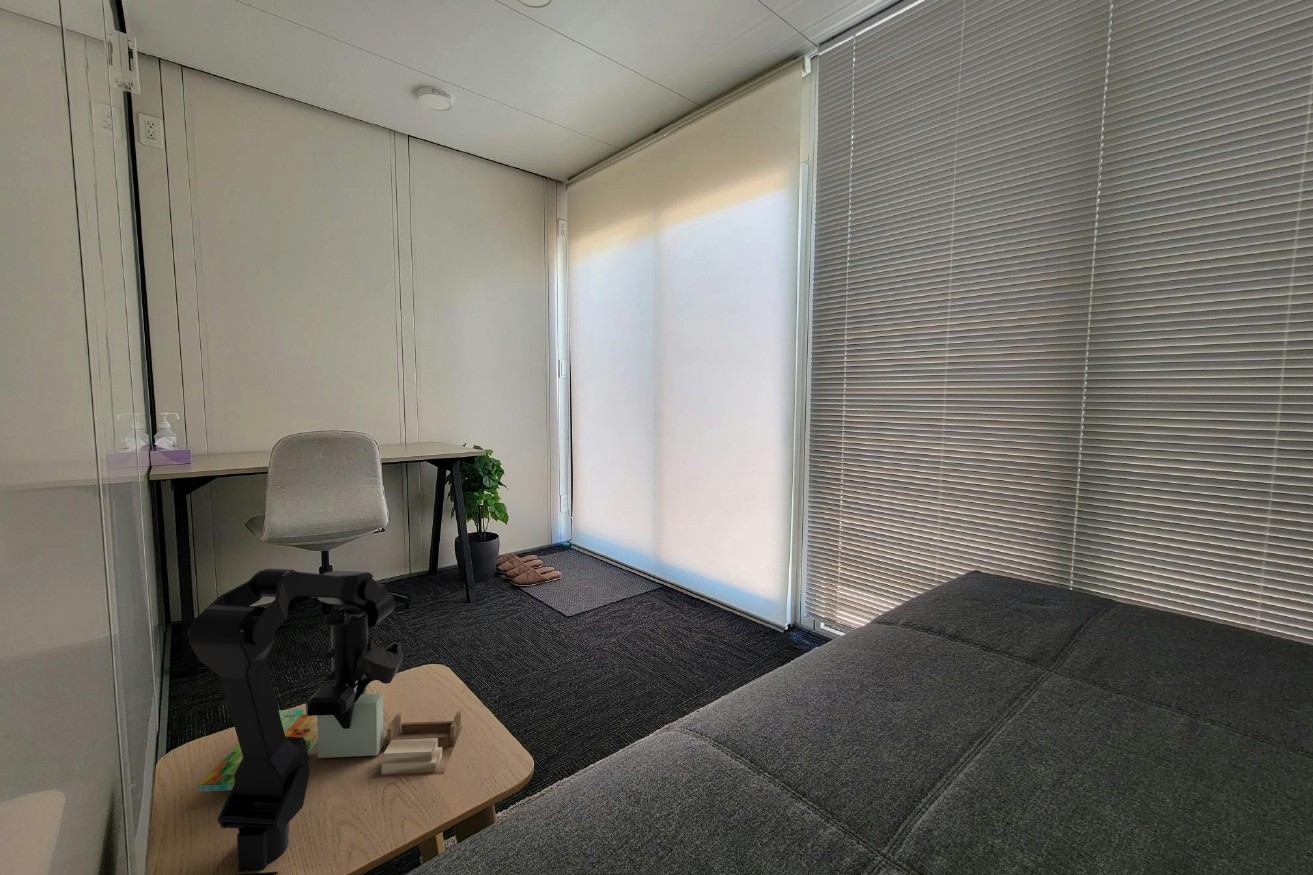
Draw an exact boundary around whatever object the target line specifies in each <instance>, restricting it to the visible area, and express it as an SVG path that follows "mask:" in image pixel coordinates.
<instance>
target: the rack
mask: <svg viewBox="0 0 1313 875" xmlns="http://www.w3.org/2000/svg"><path fill="white" fill-rule="evenodd" d="M401 714H402V712H398V713H395V715H394V717H393V719H392V720H391V722H390V724H389V725H388V727H387V730H386V743H387V744H386V746H387V747H388V745H389V743H390V742H391V740H402V739H426V738H438V747H442V758H441V760H440V763H439V765H438V768H437V770H436V772H426V773H406V774H386V775H382V763H383V762H384V755H383V756H382V758H381V760H380V762H379V763H378V765H377V767H376V769H375V770H374V772H373V773H372V775H371V778H389V777H390V778H391V777H407V776H410V777H411V776H428V775H429V776H430V775H444V774H445V772H446V769H447V766H448V764H449V762H450V759H451V756H452V753H453V751H454V748H455V746H456V744H457V740H458V738H459V737H460V733H461V731H462V728H463V726H462V711H461V710H457V711H456V713H455V715H454V718H453V720H440V721H439V720H438V721H414V722H412V721H411V722H402V721H401V720H402V717H401V716H402V715H401ZM387 747H386V748H387Z"/></svg>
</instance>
